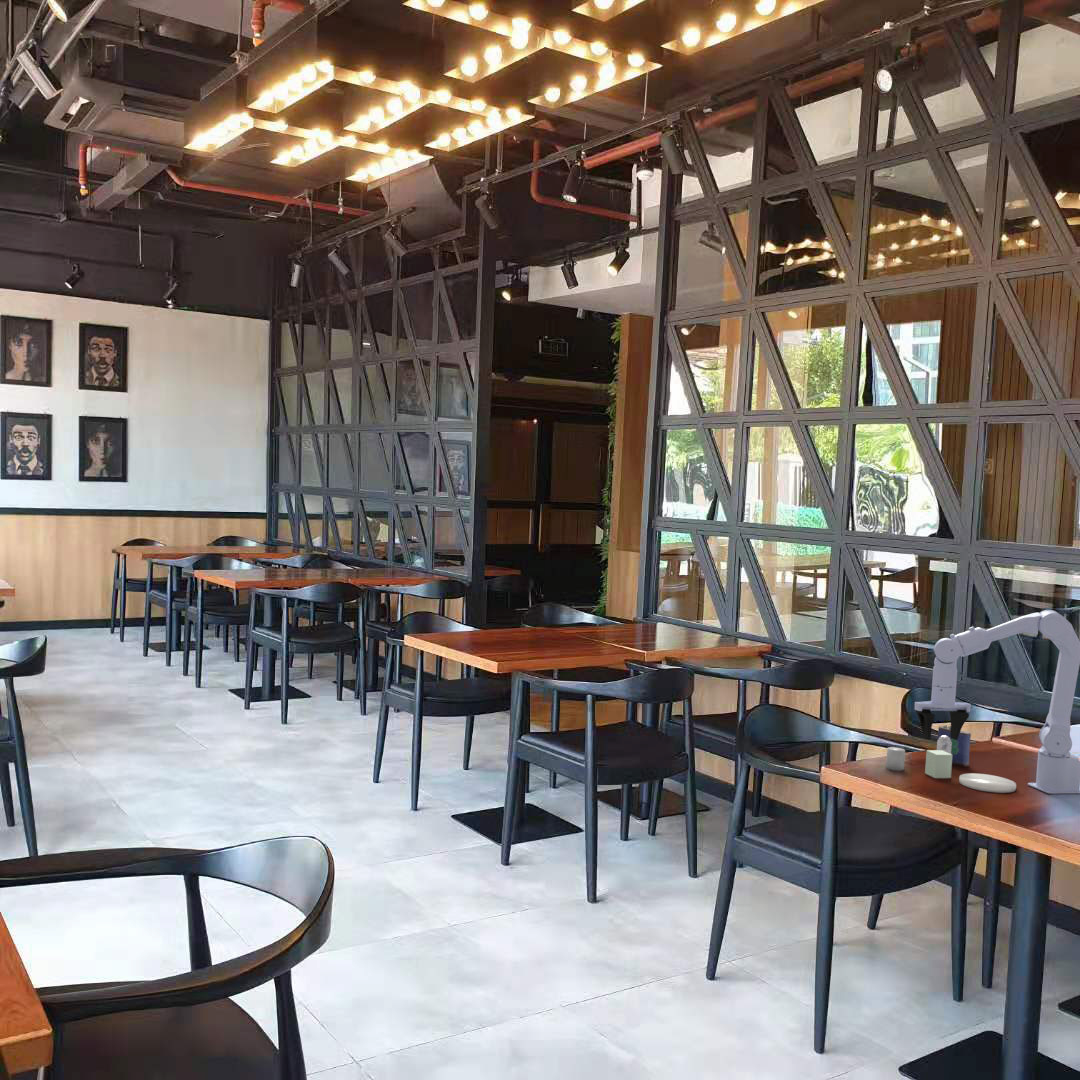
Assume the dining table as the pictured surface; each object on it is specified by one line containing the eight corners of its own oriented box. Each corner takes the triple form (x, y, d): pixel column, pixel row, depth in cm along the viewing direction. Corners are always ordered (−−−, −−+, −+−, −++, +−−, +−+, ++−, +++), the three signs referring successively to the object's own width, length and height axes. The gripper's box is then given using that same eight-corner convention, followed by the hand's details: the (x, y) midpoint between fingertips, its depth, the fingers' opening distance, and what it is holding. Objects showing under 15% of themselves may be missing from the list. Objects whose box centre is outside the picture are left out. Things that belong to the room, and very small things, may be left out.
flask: (970, 765, 287) (973, 726, 286) (964, 767, 285) (967, 727, 284) (939, 758, 294) (941, 719, 293) (933, 759, 292) (935, 720, 292)
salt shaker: (945, 765, 285) (947, 733, 285) (952, 769, 281) (955, 737, 281) (932, 765, 284) (935, 733, 284) (940, 769, 281) (942, 736, 280)
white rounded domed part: (898, 766, 282) (899, 747, 282) (907, 770, 278) (908, 751, 278) (882, 766, 281) (884, 747, 281) (891, 770, 277) (892, 751, 277)
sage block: (940, 773, 277) (942, 750, 277) (950, 778, 273) (952, 754, 272) (924, 773, 276) (926, 750, 276) (934, 778, 272) (936, 754, 271)
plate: (994, 778, 275) (995, 773, 275) (1027, 792, 262) (1027, 787, 262) (948, 778, 272) (949, 773, 272) (979, 792, 259) (979, 788, 259)
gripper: (960, 683, 279) (957, 735, 279) (909, 682, 276) (906, 735, 276) (977, 688, 272) (973, 741, 272) (924, 687, 269) (920, 741, 269)
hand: (940, 738), depth 274 cm, fingers open, 7 cm apart
